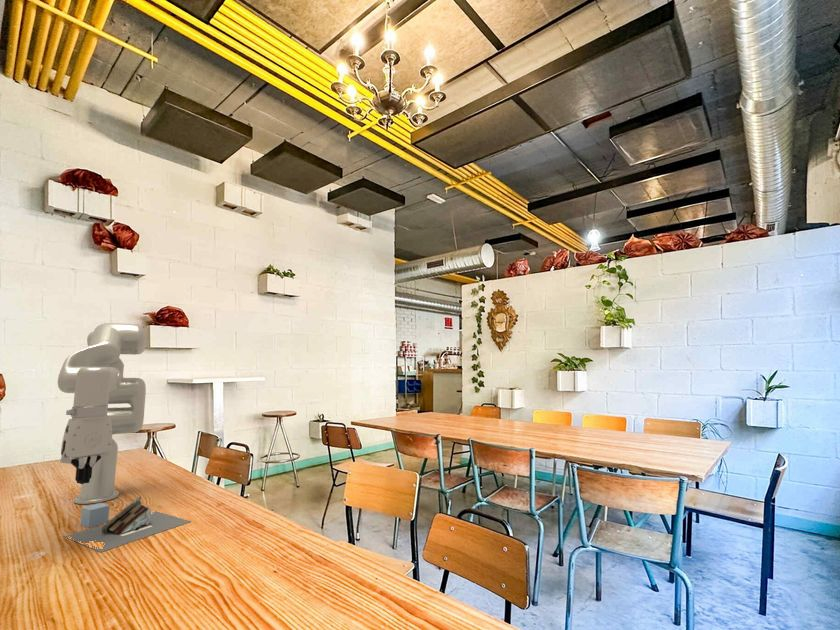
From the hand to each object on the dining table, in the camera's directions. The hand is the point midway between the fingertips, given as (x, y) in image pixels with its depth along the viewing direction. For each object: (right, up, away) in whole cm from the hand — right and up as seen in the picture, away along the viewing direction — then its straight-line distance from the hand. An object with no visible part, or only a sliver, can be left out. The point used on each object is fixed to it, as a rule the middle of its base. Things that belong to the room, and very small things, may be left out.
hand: (82, 482), depth 110 cm
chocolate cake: (+6, -17, +10) cm, 21 cm away
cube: (-8, -18, +14) cm, 24 cm away
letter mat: (+6, -17, +10) cm, 21 cm away
